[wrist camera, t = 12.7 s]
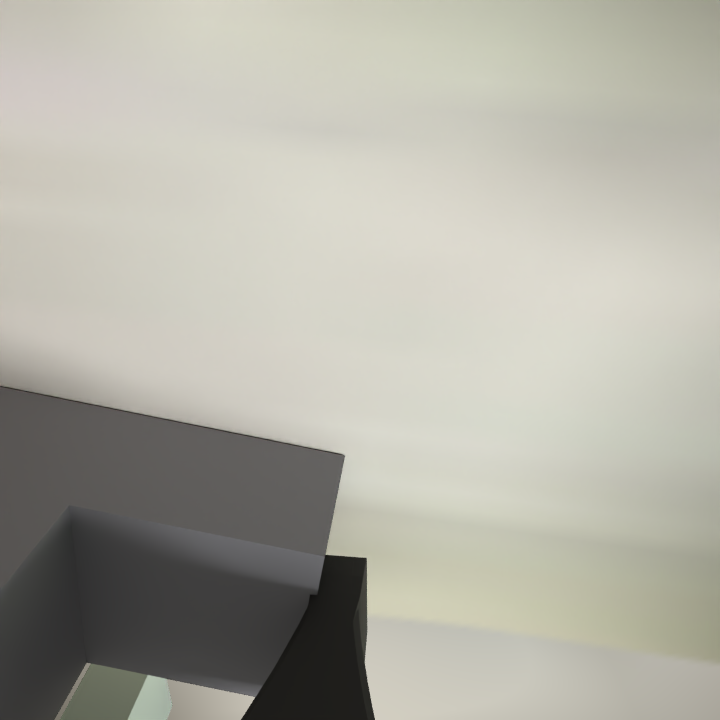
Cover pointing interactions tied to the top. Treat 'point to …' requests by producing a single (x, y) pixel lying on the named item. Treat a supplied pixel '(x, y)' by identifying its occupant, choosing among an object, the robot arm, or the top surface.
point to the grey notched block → (149, 549)
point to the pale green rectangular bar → (119, 696)
